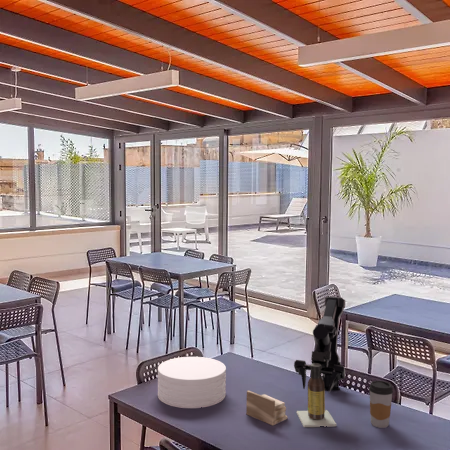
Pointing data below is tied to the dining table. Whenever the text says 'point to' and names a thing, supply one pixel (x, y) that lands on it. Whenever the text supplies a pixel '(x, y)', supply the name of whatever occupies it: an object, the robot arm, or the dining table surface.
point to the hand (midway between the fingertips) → (316, 390)
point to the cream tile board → (310, 422)
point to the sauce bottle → (316, 393)
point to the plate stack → (191, 382)
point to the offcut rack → (265, 408)
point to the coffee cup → (380, 403)
